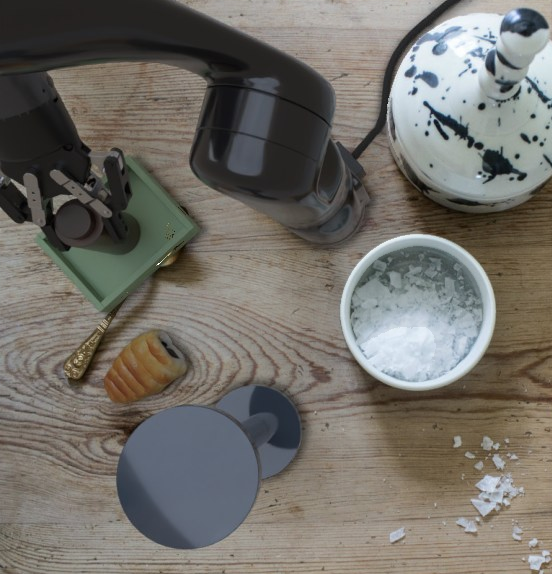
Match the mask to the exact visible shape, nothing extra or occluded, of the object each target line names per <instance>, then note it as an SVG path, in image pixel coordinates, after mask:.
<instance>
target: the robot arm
mask: <svg viewBox="0 0 552 574" xmlns="http://www.w3.org/2000/svg"><path fill="white" fill-rule="evenodd" d="M460 1H461V0H444V1H443V2H442V3H441V4H439V5H438V6H437V7H436V8H434V10H432V11H431V12H430V13H429V14H427V16H425V17H424V18H423V19H422V20H421V21H419V22H418V23H417V24H416V25H415V26H413V28H411V30H409V31H408V32H407V34H405V36H404V37H403V38H402V39H401V40H400V42H399V43H398V44H397V46H396V47H395V49H394V50H393V53H392V54H391V56H390V58H389V61H388V63H387V65H386V70H385V73H384V77H383V82H382V83H383V84H382V92H381V103H380V109H379V115H378V119H377V121H376V124H375V125H374V127H373V128H372V129H371V130H370V131H369V132H368V133H367V135H365V137H364V138H363V139H362V141H360V143H359V144H358V145H357V146H356V148H355V149H354V150H353V151H352V152H350V151H348V150H347V148H346V147H345V146H344V145H343V144H342V143H341V142H340V141H339V140H337V142H335V140H333V138H332V137H331V132H332V128H333V125H334V120H335V115H336V108H337V94H336V90H335V89H334V86H333V85H332V84H331V82H330V81H329V80H328V79H327V78H326V77H325V76H324V75H323V74H321V73H320V72H319V71H318V70H316V69H315V68H314V67H312V66H310V65H309V64H308V63H306V62H304V61H303V60H300V59H299V58H297V57H295V56H293V55H291V54H289V53H288V52H286V51H283V50H281V49H280V48H277V47H275V46H274V45H271V44H269V43H267V42H266V41H263V40H261V39H259V38H256V37H254V36H252V35H250V34H248V33H246V32H243V31H242V30H240V29H237V28H235V27H233V26H231V25H229V24H227V23H224V22H223V21H220V20H219V19H216V18H214V17H212V16H210V15H207V14H205V13H204V12H202V11H200V10H198V9H196V8H193V7H190V6H189V5H187V4H184V3H182V2H180V1H178V0H0V209H1V210H2V211H3V212H4V213H5V214H6V215H7V216H8V217H9V218H10V219H11V220H12V221H13V222H14V223H16V224H18V225H22V224H24V223H25V222H27V223H32V224H34V225H35V226H37V227H39V228H40V230H41V232H42V231H43V233H44V234H45V236H46V237H47V239H48V240H49V242H50V244H51V245H52V246H53V247H55V248H58V249H59V251H60V252H67V251H69V250H70V248H71V246H69V245H67V244H65V243H63V242H62V241H61V240H60V239H59V238H58V236H57V234H56V232H55V229H54V217H55V214H56V213H54V211H55V206H54V198H56V197H58V196H74V197H75V198H78V199H79V200H80V201H81V202H82V203H83V204H89V205H90V206H91V207H92V208H93V209H95V210H96V211H97V212H98V213H99V214H100V215H101V216H102V218H101V220H102V222H103V224H104V225H105V227H106V229H107V231H108V233H109V234H110V236H111V238H112V240H113V242H114V243H115V245H121V244H124V242H125V240H126V238H127V235H128V233H129V226H128V224H127V222H126V220H125V218H124V216H123V214H122V212H121V211H123V210H126V208H127V206H128V203H129V201H130V199H131V197H132V195H133V192H132V188H131V184H130V180H129V175H128V171H127V167H126V163H125V159H124V158H125V155H124V151H123V150H122V149H121V148H119V147H117V146H113V147H111V148H110V150H109V151H101V150H100V151H99V150H97V151H96V150H92V149H91V148H90V146H89V145H87V144H86V143H84V141H83V140H82V139H81V137H80V134H79V132H78V131H79V130H78V128H77V127H76V124H75V122H74V120H73V118H72V116H71V114H70V113H69V111H68V109H67V107H66V105H65V103H64V101H63V99H62V97H61V95H60V93H59V92H58V89H57V88H56V86H55V82H54V80H53V78H52V76H51V74H49V71H58V70H64V69H73V68H78V67H85V66H91V65H102V64H117V63H119V64H120V63H121V64H123V63H151V64H161V65H167V66H171V67H174V68H178V69H181V70H185V71H187V72H189V73H192V74H194V75H197V76H198V77H200V78H202V79H203V80H204V81H205V82H206V88H205V91H204V96H203V99H202V103H201V106H200V107H201V108H200V111H199V115H198V119H197V121H196V122H197V123H196V127H195V130H194V134H193V139H192V142H191V147H190V150H189V154H188V165H189V168H190V170H191V172H192V174H193V175H194V176H195V177H196V179H197V180H199V181H200V182H201V183H202V184H204V185H205V186H206V187H208V188H210V189H211V190H213V191H215V192H216V193H217V192H218V193H219V194H221V195H223V196H225V197H228V198H231V199H233V200H235V201H238V202H239V203H242V204H243V205H245V206H247V207H249V208H251V209H253V210H255V211H257V212H259V213H261V214H263V215H266V216H267V217H269V218H270V219H272V220H274V221H275V222H277V224H280V226H283V227H284V228H285V229H287V230H289V231H290V232H292V233H293V234H295V235H296V236H297V237H298V238H300V239H301V240H303V241H304V242H306V243H308V244H311V245H313V246H316V247H333V246H334V247H335V246H338V245H340V244H343V243H345V242H346V241H348V240H349V239H351V238H352V237H353V236H354V235H355V234H356V233H357V232H358V230H359V229H360V227H361V225H362V223H363V220H364V217H365V212H366V211H365V210H366V206H367V205H369V203H370V202H371V199H370V197H369V195H368V192H367V190H366V188H365V186H364V184H363V182H362V181H361V180H363V179H364V178H365V177H366V176H367V173H366V170H365V168H364V167H363V165H362V164H361V163H360V162H359V161H358V159H359V158H360V157H361V155H362V154H363V153H364V152H365V151H366V149H367V148H368V147H369V146H370V145H371V144H372V142H373V141H374V140H375V139H376V138H377V136H378V135H379V134H380V133H381V132H382V131H383V129H384V127H385V125H386V121H387V118H386V114H387V115H388V113H387V104H388V98H389V99H390V97H389V94H391V88H392V87H391V86H392V80H393V75H394V72H395V68H396V66H397V63H398V62H399V59H400V58H401V56H402V55H403V53H404V52H405V50H406V48H407V47H408V46H409V45H410V43H411V42H413V40H414V39H415V38H416V37H417V36H418V35H419V34H420V33H422V31H424V30H425V29H426V28H427V27H428V26H430V25H431V24H432V23H433V22H434V21H435V20H437V19H438V18H439V17H440V16H442V15H443V14H444V13H445V12H447V11H448V10H449V9H450V8H452V7H453V6H454V5H456V4H457V3H458V2H460ZM93 165H94V166H96V167H97V168H98V169H99V171H100V174H101V175H102V176H104V175H106V176H107V180H108V184H109V188H110V191H111V192H110V191H109V190H108V189H107V188H106V187H105V186H104V183H103V181H102V180H101V177H100V176H98V174H97V173H95V172H94V171H93V170H92V166H93ZM12 181H14V182H16V183H18V184H19V185H20V186H22V187H24V188H25V193H26V195H25V194H24V193H23V192H22V191H21V189H19V188H18V186H17V185H15V183H14V182H12ZM85 186H87V187H85Z"/></svg>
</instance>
